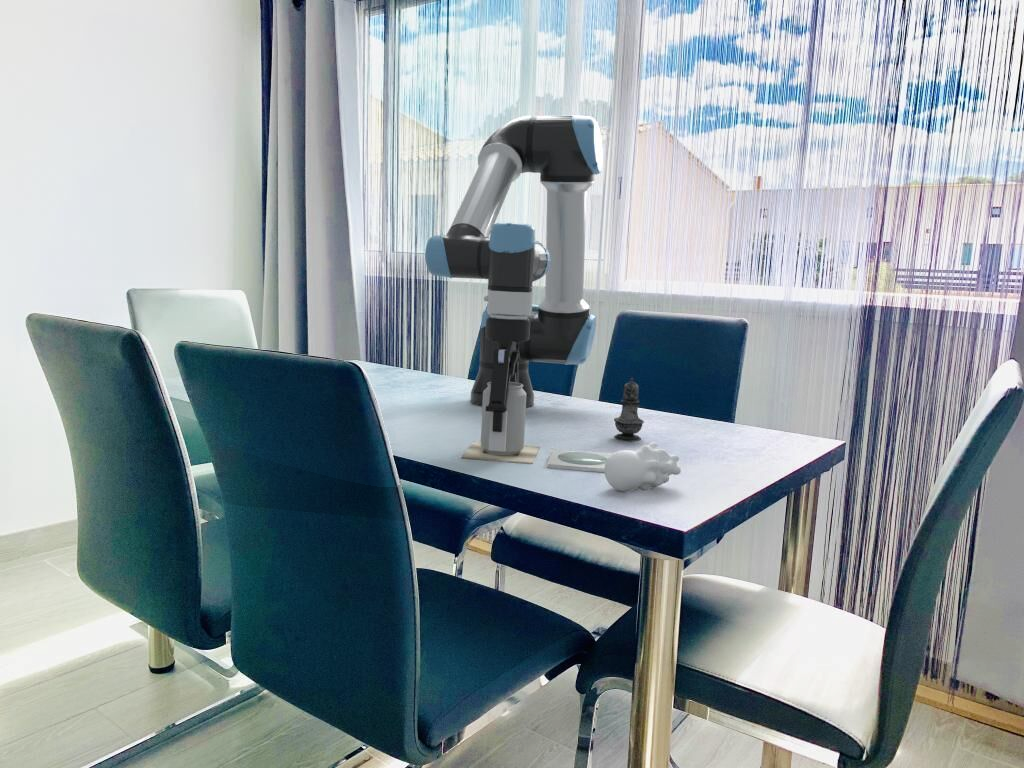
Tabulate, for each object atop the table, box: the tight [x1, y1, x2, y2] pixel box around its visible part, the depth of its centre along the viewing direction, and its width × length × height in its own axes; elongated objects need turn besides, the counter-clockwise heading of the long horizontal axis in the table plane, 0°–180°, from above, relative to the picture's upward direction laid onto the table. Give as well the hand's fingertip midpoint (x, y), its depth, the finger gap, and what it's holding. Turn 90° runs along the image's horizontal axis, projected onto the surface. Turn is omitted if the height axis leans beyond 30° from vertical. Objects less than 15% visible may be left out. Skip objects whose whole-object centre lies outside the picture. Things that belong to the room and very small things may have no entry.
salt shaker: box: [613, 377, 645, 442], centre depth 146 cm, size 6×6×12 cm
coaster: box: [546, 448, 615, 473], centre depth 126 cm, size 11×11×1 cm
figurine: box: [603, 441, 682, 492], centre depth 112 cm, size 7×7×12 cm
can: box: [480, 382, 527, 455], centre depth 129 cm, size 8×8×12 cm
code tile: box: [460, 441, 540, 465], centre depth 130 cm, size 12×12×1 cm
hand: (502, 442), depth 130 cm, fingers open, 12 cm apart
